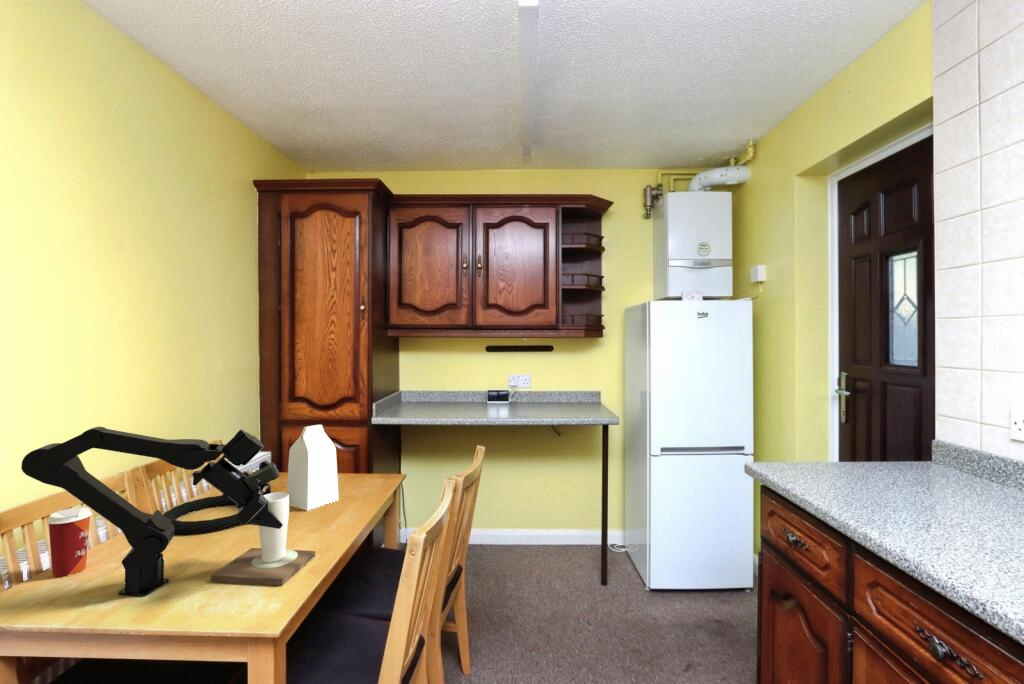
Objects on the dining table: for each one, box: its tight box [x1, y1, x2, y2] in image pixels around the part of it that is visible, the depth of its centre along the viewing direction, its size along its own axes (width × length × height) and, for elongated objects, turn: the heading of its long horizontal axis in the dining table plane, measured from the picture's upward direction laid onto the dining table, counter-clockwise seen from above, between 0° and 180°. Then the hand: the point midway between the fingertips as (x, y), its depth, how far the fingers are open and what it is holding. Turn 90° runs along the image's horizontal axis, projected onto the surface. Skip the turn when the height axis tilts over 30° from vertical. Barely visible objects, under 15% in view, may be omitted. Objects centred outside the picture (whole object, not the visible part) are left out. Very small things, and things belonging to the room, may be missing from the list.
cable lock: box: [162, 494, 242, 535], centre depth 142 cm, size 28×4×30 cm
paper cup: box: [46, 506, 93, 578], centre depth 109 cm, size 8×8×14 cm
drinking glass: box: [258, 492, 290, 563], centre depth 112 cm, size 7×7×15 cm
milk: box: [286, 424, 340, 512], centre depth 156 cm, size 12×12×26 cm
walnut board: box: [210, 547, 316, 586], centre depth 110 cm, size 14×17×2 cm
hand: (281, 520), depth 113 cm, fingers open, 9 cm apart
